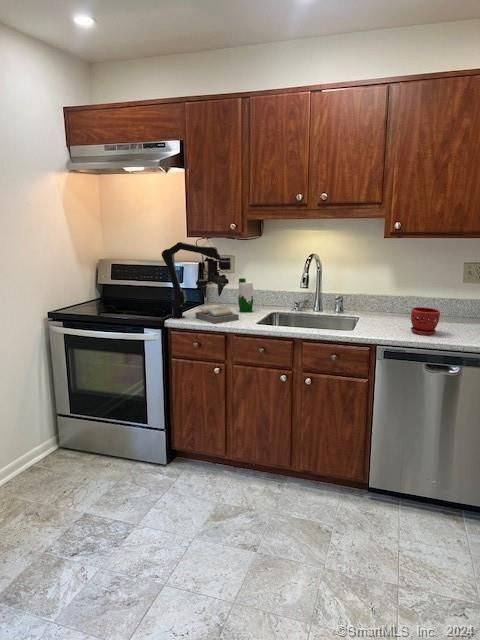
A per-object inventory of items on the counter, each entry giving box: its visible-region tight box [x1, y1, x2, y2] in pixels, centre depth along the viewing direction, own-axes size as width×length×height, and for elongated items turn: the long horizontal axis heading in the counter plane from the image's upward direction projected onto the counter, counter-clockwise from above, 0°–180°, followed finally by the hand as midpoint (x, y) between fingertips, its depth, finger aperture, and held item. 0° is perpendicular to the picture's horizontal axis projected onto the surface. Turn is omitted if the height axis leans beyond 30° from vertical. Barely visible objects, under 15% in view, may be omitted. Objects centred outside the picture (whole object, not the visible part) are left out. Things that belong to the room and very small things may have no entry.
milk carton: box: [237, 277, 254, 313], centre depth 283 cm, size 9×9×20 cm
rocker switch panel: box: [195, 311, 240, 325], centre depth 264 cm, size 20×16×3 cm
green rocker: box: [209, 306, 234, 316], centre depth 260 cm, size 6×12×2 cm, turn 127°
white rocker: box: [198, 304, 222, 313], centre depth 268 cm, size 6×12×2 cm, turn 127°
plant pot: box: [410, 306, 441, 336], centre depth 229 cm, size 13×13×12 cm
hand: (212, 296), depth 264 cm, fingers open, 9 cm apart
